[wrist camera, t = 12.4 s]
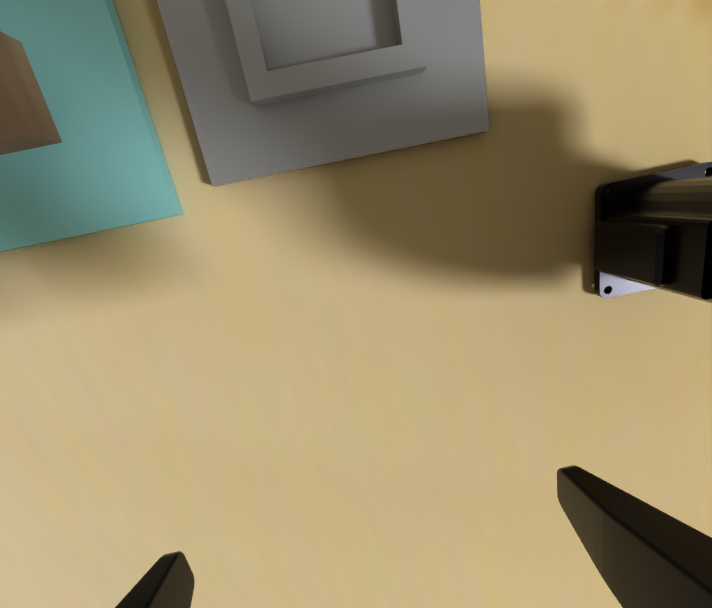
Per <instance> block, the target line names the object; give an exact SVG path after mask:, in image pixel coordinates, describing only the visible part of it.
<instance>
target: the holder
mask: <svg viewBox="0 0 712 608" xmlns="http://www.w3.org/2000/svg"><path fill="white" fill-rule="evenodd" d="M156 1H157V4H158V8H159V11H160V14H161V18H162V21H163V24H164V28H165V31H166V34H167V38H168V41H169V44H170V48H171V51H172V54H173V58H174V61H175V64H176V68H177V71H178V74H179V78H180V81H181V84H182V88H183V91H184V94H185V98H186V101H187V104H188V108H189V111H190V114H191V118H192V121H193V124H194V128H195V131H196V134H197V138H198V141H199V144H200V148H201V151H202V154H203V158H204V161H205V164H206V168H207V171H208V174H209V178H210V181H211V184H212V186H220V185H225V184H230V183H235V182H240V181H245V180H250V179H254V178H259V177H264V176H269V175H274V174H279V173H284V172H289V171H294V170H299V169H304V168H309V167H314V166H318V165H323V164H328V163H333V162H338V161H343V160H348V159H353V158H358V157H363V156H368V155H373V154H378V153H382V152H387V151H392V150H397V149H402V148H407V147H412V146H417V145H422V144H427V143H432V142H437V141H442V140H446V139H451V138H456V137H461V136H466V135H471V134H476V133H481V132H485V131H488V130H489V116H488V103H487V90H486V76H485V63H484V50H483V36H482V23H481V10H480V0H156Z"/></svg>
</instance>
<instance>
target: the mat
mask: <svg viewBox="0 0 712 608" xmlns="http://www.w3.org/2000/svg"><path fill="white" fill-rule="evenodd" d="M0 31H1V32H3V33H5V34H7V35H9V36H11V37H13V38H15V39H17V40H19V41H20V42H21V43H22V45H23V48H24V50H25V52H26V55H27V57H28V60H29V62H30V65H31V67H32V69H33V72H34V74H35V77H36V79H37V82H38V84H39V86H40V89H41V91H42V94H43V96H44V99H45V101H46V103H47V106H48V108H49V111H50V113H51V116H52V118H53V121H54V123H55V125H56V128H57V130H58V133H59V135H60V138H61V140H62V143H57V144H52V145H48V146H43V147H38V148H33V149H28V150H23V151H19V152H14V153H9V154H4V155H0V252H1V251H6V250H10V249H15V248H20V247H25V246H30V245H35V244H40V243H45V242H50V241H55V240H59V239H64V238H69V237H74V236H79V235H84V234H89V233H94V232H99V231H104V230H108V229H113V228H118V227H123V226H128V225H133V224H138V223H143V222H148V221H153V220H158V219H162V218H167V217H172V216H177V215H182V214H183V211H182V208H181V205H180V202H179V199H178V196H177V193H176V190H175V187H174V184H173V181H172V178H171V175H170V172H169V169H168V166H167V163H166V160H165V157H164V154H163V151H162V148H161V145H160V142H159V139H158V136H157V133H156V130H155V127H154V124H153V121H152V118H151V115H150V112H149V109H148V106H147V103H146V99H145V96H144V93H143V90H142V87H141V84H140V81H139V78H138V75H137V72H136V69H135V66H134V63H133V60H132V57H131V54H130V51H129V48H128V45H127V42H126V39H125V36H124V33H123V30H122V27H121V24H120V21H119V18H118V15H117V12H116V9H115V6H114V3H113V0H0Z"/></svg>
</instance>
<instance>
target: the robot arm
mask: <svg viewBox="0 0 712 608" xmlns="http://www.w3.org/2000/svg"><path fill="white" fill-rule="evenodd" d="M705 170H706V174H704V173H705ZM607 189H608V190H609V193H608V195H607V196H606V195H605V192H606V190H607ZM594 267H595V293H596V294H597V295H598V296H600V297H603V298H611V297H616V296H620V295H625V294H630V293H635V292H639V291H644V290H649V289H654V288H659V289H662V290H666V291H670V292H673V293H677V294H680V295H684V296H688V297H691V298H695V299H699V300H702V301H706V302H709V303H712V162H706V163H699V164H694V165H690V166H685V167H680V168H675V169H670V170H665V171H660V172H656V173H651V174H646V175H641V176H636V177H631V178H626V179H622V180H617V181H612V182H607V183H603V184H601V185H600V186H599V187H598V188H597V190H596V194H595V257H594ZM605 287H607V290H606V291H605V292H604V288H605ZM557 494H558V499H559V502H560V505H561V507H562V508H563V510H564V512H565V514H566V515H567V517H568V519H569V521H570V522H571V524H572V526H573V528H574V529H575V531H576V533H577V535H578V536H579V538H580V540H581V542H582V543H583V545H584V547H585V549H586V550H587V552H588V554H589V556H590V557H591V559H592V561H593V563H594V564H595V566H596V568H597V569H598V571H599V573H600V574H601V576H602V578H603V579H604V581H605V582H606V584H607V585H608V587H609V588H610V590H611V591H612V593H613V594H614V595H615V597H616V598H617V600H618V601H619V603H620V604H621V606H622V607H623V608H712V538H711V537H709V536H707V535H705V534H704V533H702V532H700V531H698V530H696V529H694V528H692V527H690V526H689V525H687V524H685V523H683V522H681V521H679V520H677V519H675V518H674V517H672V516H670V515H668V514H666V513H664V512H662V511H660V510H659V509H657V508H655V507H653V506H651V505H649V504H647V503H645V502H644V501H642V500H640V499H638V498H636V497H634V496H632V495H630V494H629V493H627V492H625V491H623V490H621V489H619V488H617V487H615V486H614V485H612V484H610V483H608V482H606V481H604V480H602V479H601V478H599V477H597V476H595V475H593V474H591V473H589V472H587V471H586V470H584V469H582V468H580V467H578V466H568V467H563V468H560V469H558V471H557ZM193 590H194V575H193V573H192V571H191V568H190V566H189V564H188V562H187V560H186V557H185V555H184V554H183V553H182V552H181V551H178V552H173V553H169V554H165V555H163V556H162V557H161V558H160V559H159V560H158V561H157V562H156V563H155V564H154V565H153V566H152V567H151V568H150V570H149V571H148V572H147V573H146V574H145V575H144V576H143V577H142V578H141V579H140V581H139V582H138V583H137V584H136V585H135V586H134V587H133V588H132V589H131V591H130V592H129V593H128V594H127V595H126V596H125V597H124V598H123V599H122V601H121V602H120V603H119V604H118V605H117V606H116V607H115V608H190V607H191V601H192V596H193Z"/></svg>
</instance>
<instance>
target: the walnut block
mask: <svg viewBox="0 0 712 608" xmlns="http://www.w3.org/2000/svg"><path fill="white" fill-rule="evenodd" d="M57 143H62V140H61V138H60V135H59V133H58V130H57V128H56V125H55V123H54V121H53V118H52V116H51V113H50V111H49V108H48V106H47V103H46V101H45V99H44V96H43V94H42V91H41V89H40V86H39V84H38V82H37V79H36V77H35V74H34V72H33V69H32V67H31V65H30V62H29V60H28V57H27V55H26V52H25V50H24V48H23V45H22V43H21V42H20V41H19V40H17V39H15V38H13V37H11V36H9V35H7V34H5V33H3V32H1V31H0V155H4V154H9V153H14V152H19V151H23V150H28V149H33V148H38V147H43V146H48V145H52V144H57Z"/></svg>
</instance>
